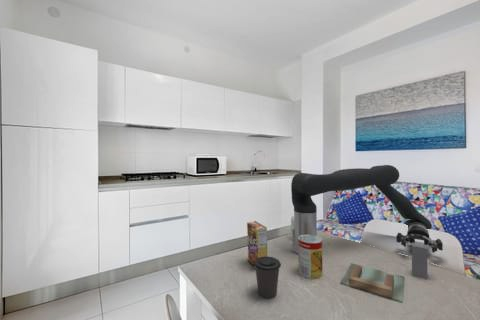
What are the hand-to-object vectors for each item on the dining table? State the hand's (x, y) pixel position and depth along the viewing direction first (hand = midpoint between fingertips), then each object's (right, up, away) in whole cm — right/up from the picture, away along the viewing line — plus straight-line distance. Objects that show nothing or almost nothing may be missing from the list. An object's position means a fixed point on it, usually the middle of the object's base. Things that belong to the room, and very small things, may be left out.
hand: (418, 246), depth 85 cm
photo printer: (-37, -6, +27) cm, 46 cm away
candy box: (-60, -7, 0) cm, 61 cm away
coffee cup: (-59, -7, -18) cm, 62 cm away
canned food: (-42, -7, -6) cm, 44 cm away
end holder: (-23, -6, -11) cm, 27 cm away
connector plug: (-7, -6, -9) cm, 12 cm away
